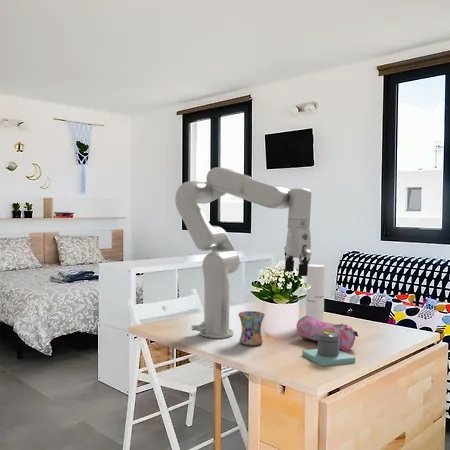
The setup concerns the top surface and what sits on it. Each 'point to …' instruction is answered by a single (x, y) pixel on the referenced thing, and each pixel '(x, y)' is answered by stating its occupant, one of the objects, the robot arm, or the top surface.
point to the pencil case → (314, 327)
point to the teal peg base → (328, 358)
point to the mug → (251, 327)
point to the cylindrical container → (315, 292)
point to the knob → (328, 344)
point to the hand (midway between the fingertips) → (295, 273)
